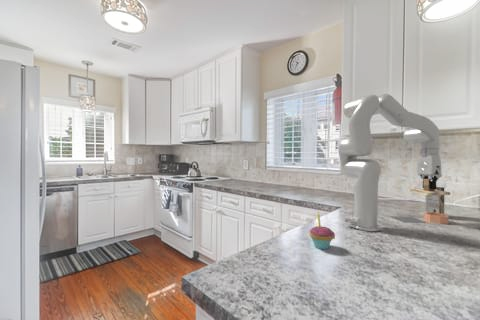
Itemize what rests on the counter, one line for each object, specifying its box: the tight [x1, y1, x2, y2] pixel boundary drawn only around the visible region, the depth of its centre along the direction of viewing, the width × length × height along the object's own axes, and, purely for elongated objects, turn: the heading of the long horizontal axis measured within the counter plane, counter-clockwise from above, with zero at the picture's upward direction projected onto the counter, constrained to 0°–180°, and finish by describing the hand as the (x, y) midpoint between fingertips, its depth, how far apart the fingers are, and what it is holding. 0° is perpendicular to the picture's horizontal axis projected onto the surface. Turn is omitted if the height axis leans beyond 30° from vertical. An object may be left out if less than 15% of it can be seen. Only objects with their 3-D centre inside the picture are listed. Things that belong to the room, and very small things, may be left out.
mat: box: [388, 215, 429, 224], centre depth 117 cm, size 12×12×1 cm
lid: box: [409, 178, 451, 196], centre depth 115 cm, size 11×11×7 cm
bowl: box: [423, 211, 450, 225], centre depth 114 cm, size 9×9×4 cm
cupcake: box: [309, 212, 336, 250], centre depth 80 cm, size 9×8×12 cm
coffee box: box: [425, 186, 445, 214], centre depth 126 cm, size 9×6×16 cm
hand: (429, 188), depth 115 cm, fingers closed on lid, 3 cm apart
